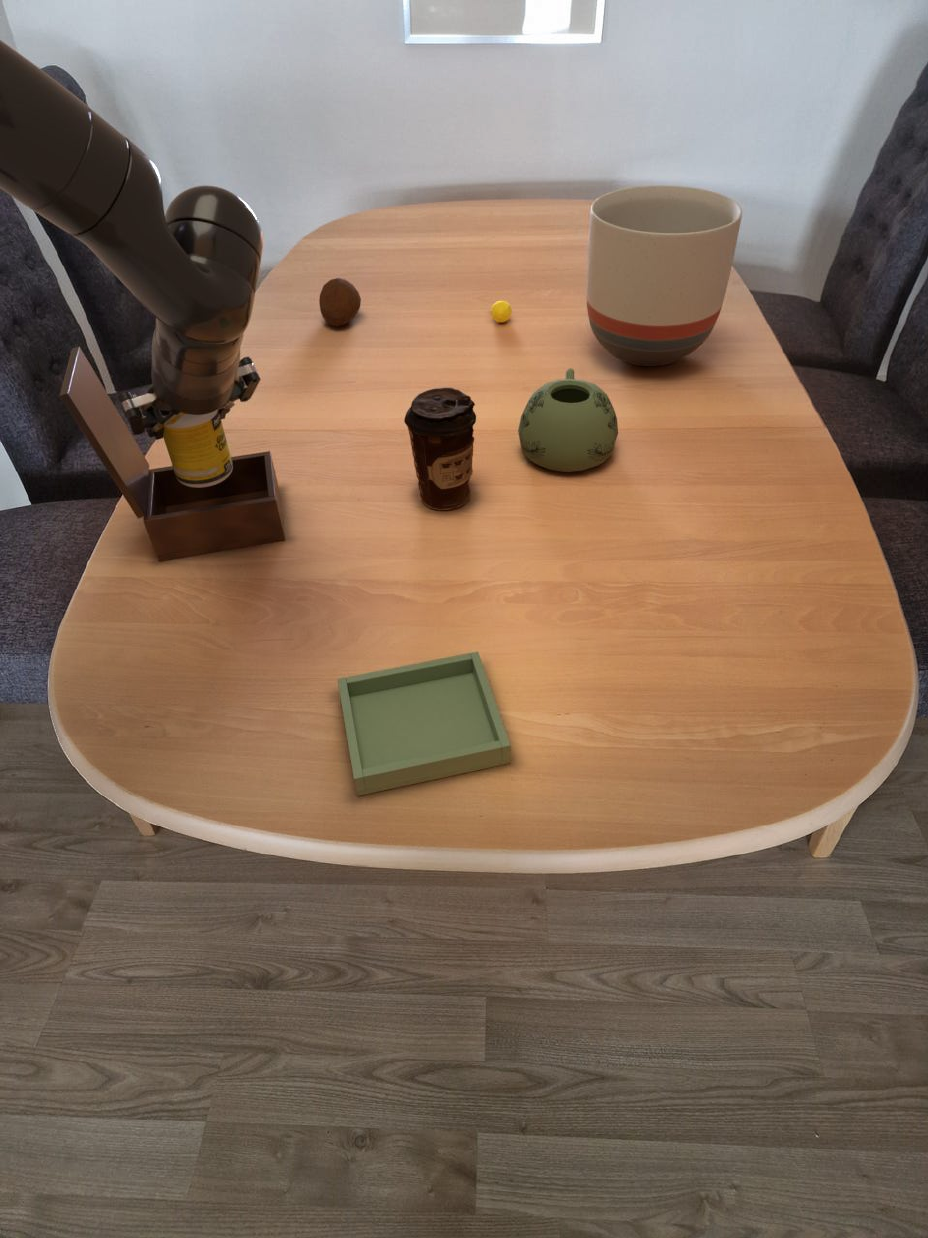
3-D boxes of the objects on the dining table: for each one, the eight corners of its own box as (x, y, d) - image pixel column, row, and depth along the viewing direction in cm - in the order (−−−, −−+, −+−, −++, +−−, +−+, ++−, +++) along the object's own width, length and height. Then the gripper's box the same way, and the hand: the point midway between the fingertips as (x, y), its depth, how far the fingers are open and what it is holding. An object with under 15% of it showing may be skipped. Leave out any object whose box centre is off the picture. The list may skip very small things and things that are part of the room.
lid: (79, 345, 85) (71, 348, 85) (67, 393, 78) (59, 395, 78) (149, 464, 96) (142, 467, 96) (145, 516, 89) (137, 518, 89)
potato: (362, 305, 143) (357, 264, 138) (364, 330, 135) (358, 288, 131) (322, 308, 142) (316, 267, 138) (322, 333, 135) (315, 292, 130)
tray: (357, 796, 69) (353, 778, 67) (341, 696, 77) (337, 678, 75) (510, 763, 71) (510, 745, 69) (478, 669, 79) (478, 651, 77)
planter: (696, 324, 133) (720, 181, 118) (729, 384, 118) (761, 230, 103) (572, 330, 133) (581, 188, 118) (590, 390, 118) (602, 237, 103)
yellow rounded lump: (495, 327, 134) (488, 305, 133) (493, 322, 140) (487, 301, 138) (515, 319, 134) (508, 298, 132) (512, 314, 139) (505, 294, 138)
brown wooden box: (279, 490, 103) (270, 450, 98) (285, 540, 95) (275, 499, 91) (161, 508, 100) (147, 469, 96) (158, 561, 93) (142, 521, 89)
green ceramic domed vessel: (617, 480, 101) (624, 419, 95) (515, 477, 103) (515, 416, 97) (613, 415, 113) (619, 356, 107) (521, 413, 114) (522, 355, 108)
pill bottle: (227, 490, 90) (200, 394, 82) (170, 490, 90) (138, 395, 82) (239, 458, 95) (216, 365, 87) (185, 459, 95) (156, 366, 87)
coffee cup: (495, 494, 100) (494, 399, 91) (448, 526, 96) (443, 429, 87) (444, 469, 105) (439, 376, 96) (398, 498, 100) (387, 403, 91)
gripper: (251, 301, 76) (233, 371, 92) (98, 342, 71) (107, 409, 86) (284, 375, 77) (261, 432, 92) (135, 420, 71) (137, 473, 87)
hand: (186, 420), depth 89 cm, fingers closed on pill bottle, 6 cm apart
